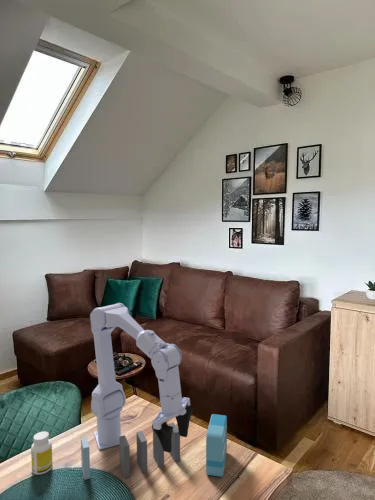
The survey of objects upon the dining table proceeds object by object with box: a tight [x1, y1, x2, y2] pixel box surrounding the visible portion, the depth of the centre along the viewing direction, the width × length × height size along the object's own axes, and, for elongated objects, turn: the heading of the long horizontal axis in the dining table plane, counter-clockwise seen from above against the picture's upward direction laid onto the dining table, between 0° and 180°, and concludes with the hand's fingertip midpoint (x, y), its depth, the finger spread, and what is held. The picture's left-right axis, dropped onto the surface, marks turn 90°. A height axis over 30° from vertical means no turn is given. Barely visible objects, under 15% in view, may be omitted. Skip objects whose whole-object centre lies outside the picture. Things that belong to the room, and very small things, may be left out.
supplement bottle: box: [30, 430, 53, 475], centre depth 97 cm, size 5×5×10 cm
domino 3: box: [152, 430, 165, 468], centre depth 100 cm, size 5×2×9 cm, turn 24°
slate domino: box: [80, 436, 91, 481], centre depth 95 cm, size 5×2×9 cm, turn 24°
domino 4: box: [168, 422, 181, 463], centre depth 102 cm, size 5×2×9 cm, turn 24°
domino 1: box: [118, 435, 131, 479], centre depth 95 cm, size 5×2×9 cm, turn 24°
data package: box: [205, 413, 228, 478], centre depth 98 cm, size 12×4×12 cm, turn 168°
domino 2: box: [136, 430, 148, 474], centre depth 97 cm, size 5×2×9 cm, turn 24°
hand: (175, 443), depth 91 cm, fingers open, 7 cm apart
